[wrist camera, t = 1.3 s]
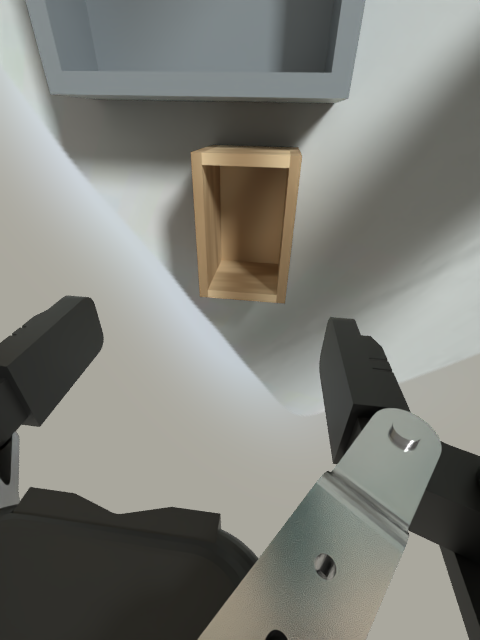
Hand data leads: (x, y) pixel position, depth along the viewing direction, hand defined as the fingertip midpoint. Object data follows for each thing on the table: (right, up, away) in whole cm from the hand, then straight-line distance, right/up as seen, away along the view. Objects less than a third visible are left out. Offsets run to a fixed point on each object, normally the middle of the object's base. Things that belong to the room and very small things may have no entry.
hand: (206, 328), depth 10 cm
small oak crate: (+2, +9, +13) cm, 16 cm away
